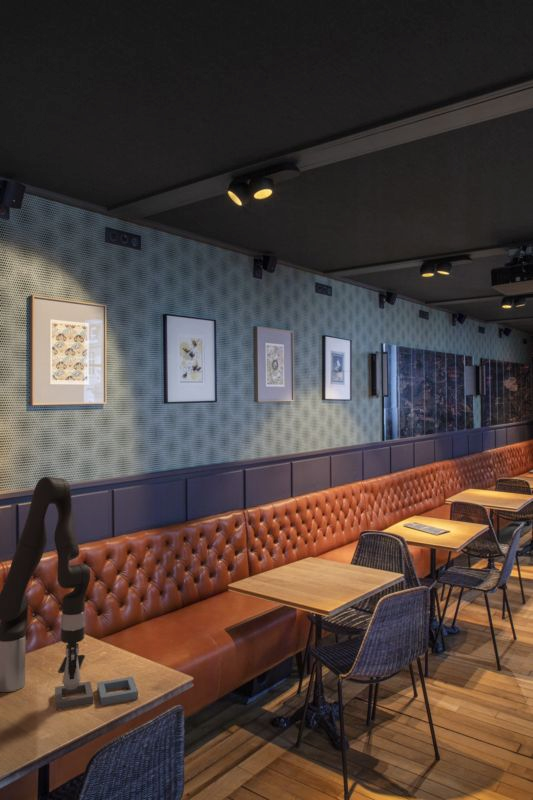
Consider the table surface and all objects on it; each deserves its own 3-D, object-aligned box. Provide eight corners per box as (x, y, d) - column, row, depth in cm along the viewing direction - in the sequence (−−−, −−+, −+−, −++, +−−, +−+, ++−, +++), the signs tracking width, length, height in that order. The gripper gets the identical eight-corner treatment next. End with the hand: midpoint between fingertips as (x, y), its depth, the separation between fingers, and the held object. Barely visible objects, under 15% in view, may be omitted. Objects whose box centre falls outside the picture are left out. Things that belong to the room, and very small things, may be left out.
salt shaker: (58, 688, 193) (59, 648, 193) (71, 681, 198) (72, 643, 198) (70, 692, 190) (71, 652, 191) (84, 685, 195) (85, 646, 196)
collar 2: (100, 705, 190) (100, 697, 190) (97, 689, 201) (97, 682, 201) (138, 698, 194) (138, 691, 194) (132, 683, 206) (132, 676, 206)
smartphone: (85, 654, 231) (79, 670, 216) (85, 656, 231) (79, 672, 216) (65, 655, 230) (57, 671, 215) (65, 657, 230) (57, 673, 215)
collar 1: (55, 710, 187) (55, 702, 187) (54, 694, 198) (55, 687, 198) (93, 703, 191) (93, 696, 191) (90, 688, 202) (90, 681, 202)
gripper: (60, 619, 200) (59, 670, 199) (61, 634, 187) (59, 688, 186) (83, 617, 203) (82, 667, 202) (85, 631, 189) (84, 685, 189)
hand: (71, 677), depth 194 cm, fingers closed on salt shaker, 3 cm apart
